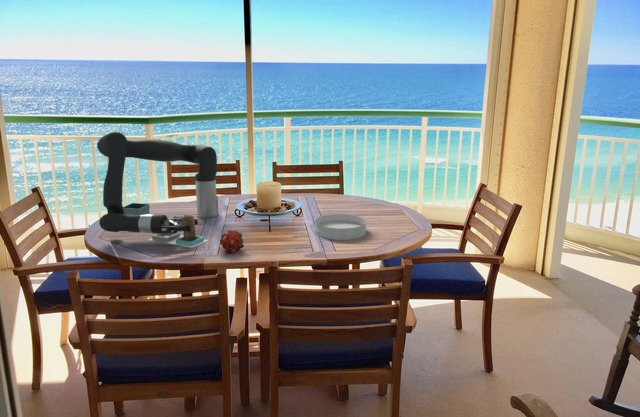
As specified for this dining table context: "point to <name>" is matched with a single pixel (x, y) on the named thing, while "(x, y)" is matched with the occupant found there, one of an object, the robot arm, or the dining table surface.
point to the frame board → (177, 239)
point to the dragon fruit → (232, 241)
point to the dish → (340, 226)
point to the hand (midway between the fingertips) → (194, 224)
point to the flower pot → (136, 209)
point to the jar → (189, 220)
